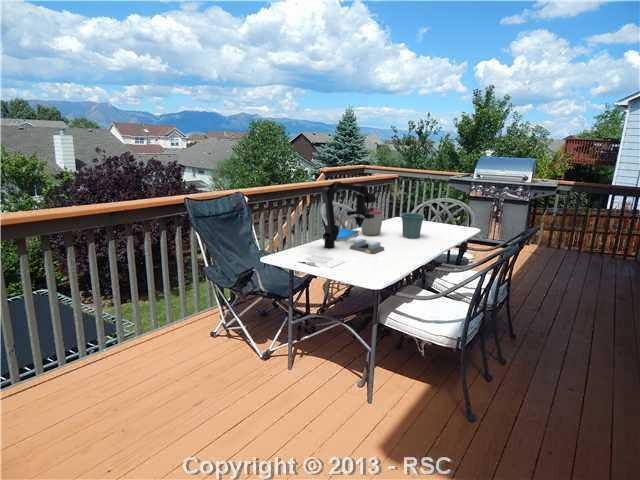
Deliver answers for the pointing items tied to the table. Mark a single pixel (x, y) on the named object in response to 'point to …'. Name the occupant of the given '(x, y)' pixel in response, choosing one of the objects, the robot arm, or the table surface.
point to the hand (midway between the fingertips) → (359, 227)
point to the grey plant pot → (372, 223)
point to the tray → (321, 260)
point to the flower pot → (412, 224)
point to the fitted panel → (360, 242)
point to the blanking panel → (374, 245)
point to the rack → (366, 250)
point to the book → (346, 234)
